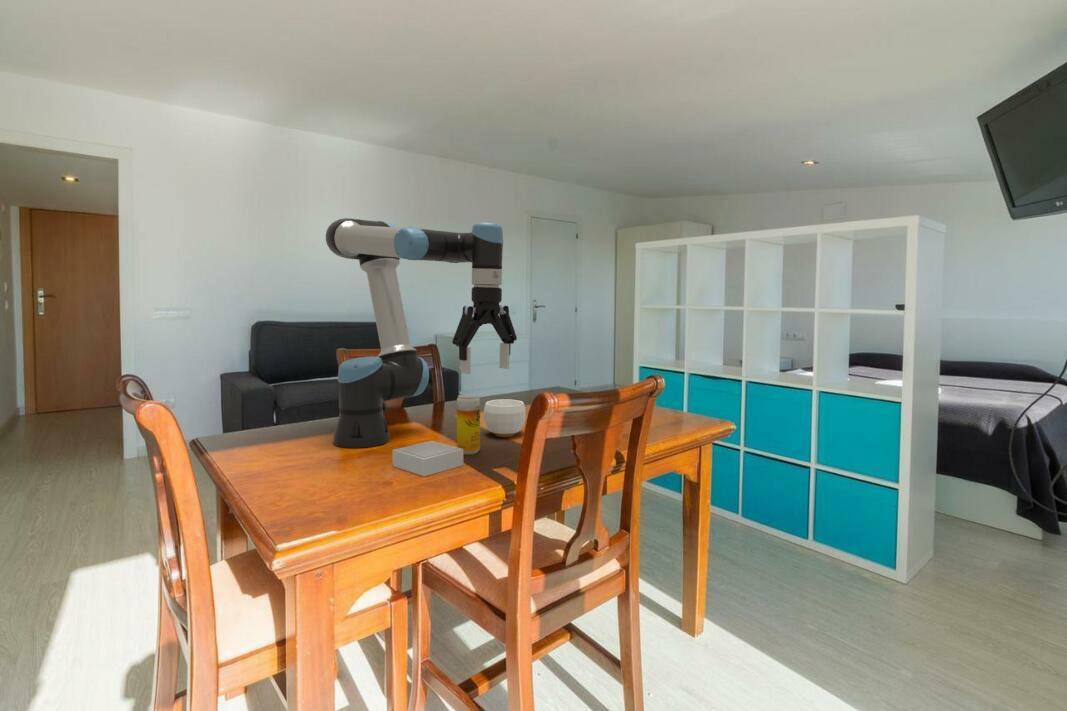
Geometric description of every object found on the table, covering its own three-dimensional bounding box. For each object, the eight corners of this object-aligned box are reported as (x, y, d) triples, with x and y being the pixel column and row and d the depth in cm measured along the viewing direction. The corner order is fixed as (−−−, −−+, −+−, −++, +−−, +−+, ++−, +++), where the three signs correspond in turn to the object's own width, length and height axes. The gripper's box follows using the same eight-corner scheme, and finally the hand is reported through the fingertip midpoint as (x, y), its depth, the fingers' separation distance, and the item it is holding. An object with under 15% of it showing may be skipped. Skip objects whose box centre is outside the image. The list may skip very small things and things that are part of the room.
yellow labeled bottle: (476, 455, 150) (475, 398, 149) (453, 454, 151) (453, 397, 150) (482, 449, 156) (482, 394, 154) (461, 448, 157) (460, 393, 156)
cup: (477, 437, 169) (477, 405, 168) (493, 428, 180) (493, 397, 179) (517, 441, 165) (517, 407, 164) (531, 431, 177) (531, 400, 176)
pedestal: (392, 466, 141) (392, 448, 140) (432, 455, 150) (431, 439, 149) (424, 476, 133) (423, 458, 132) (463, 465, 142) (463, 448, 141)
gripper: (459, 286, 133) (458, 377, 136) (531, 287, 152) (529, 367, 154) (437, 285, 138) (437, 373, 140) (510, 286, 156) (508, 364, 159)
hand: (485, 370), depth 147 cm, fingers open, 13 cm apart
